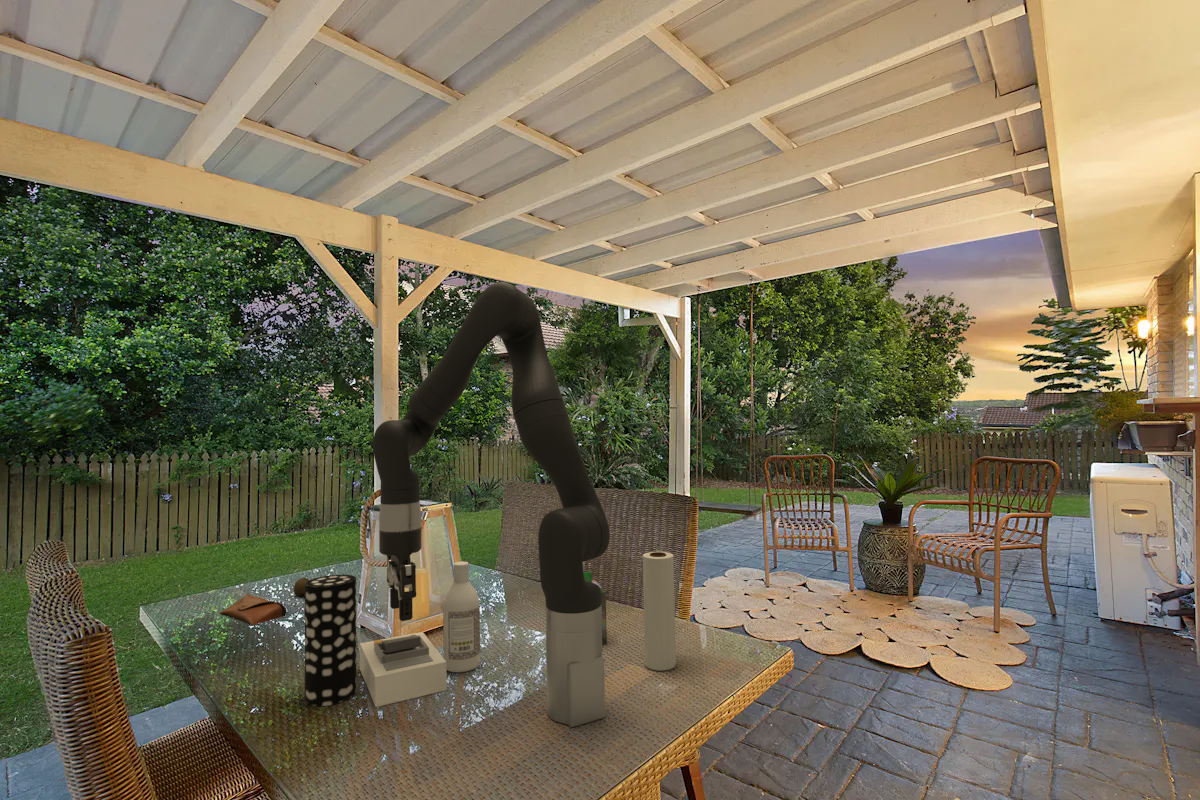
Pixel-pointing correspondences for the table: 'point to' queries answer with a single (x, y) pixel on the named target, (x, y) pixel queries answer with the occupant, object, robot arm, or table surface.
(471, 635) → the bath foam
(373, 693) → the switch box
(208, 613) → the table surface
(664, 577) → the paper towel roll
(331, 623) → the spotted tube
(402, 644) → the rocker paddle
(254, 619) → the sunglasses case
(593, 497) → the robot arm
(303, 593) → the kendama
